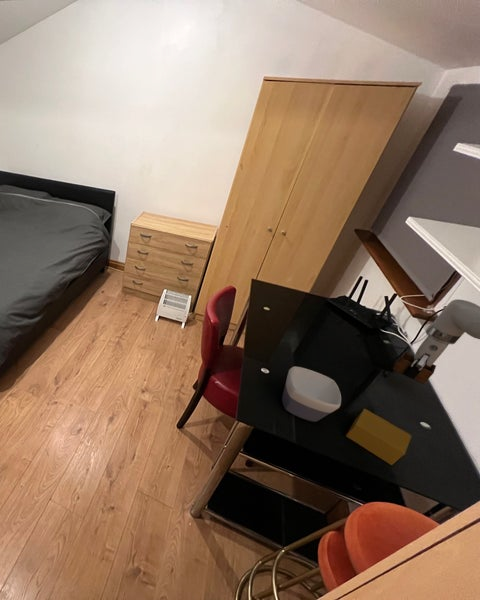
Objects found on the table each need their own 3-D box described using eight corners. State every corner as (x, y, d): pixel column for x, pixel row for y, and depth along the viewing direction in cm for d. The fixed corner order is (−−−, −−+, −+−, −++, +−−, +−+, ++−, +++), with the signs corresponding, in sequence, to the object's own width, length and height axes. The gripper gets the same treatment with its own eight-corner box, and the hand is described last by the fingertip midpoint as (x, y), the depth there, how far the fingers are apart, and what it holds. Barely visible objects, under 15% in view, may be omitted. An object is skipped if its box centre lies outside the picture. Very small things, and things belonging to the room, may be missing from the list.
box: (399, 447, 101) (411, 435, 98) (391, 466, 95) (404, 454, 92) (354, 419, 109) (364, 408, 105) (345, 435, 103) (355, 424, 100)
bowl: (274, 412, 108) (289, 390, 102) (275, 382, 120) (288, 361, 114) (327, 433, 103) (345, 411, 97) (322, 400, 115) (339, 379, 108)
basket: (426, 376, 118) (436, 365, 115) (423, 384, 114) (433, 373, 111) (395, 362, 124) (404, 351, 121) (391, 369, 120) (400, 358, 117)
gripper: (454, 349, 102) (419, 388, 112) (460, 330, 112) (427, 368, 121) (424, 337, 107) (392, 375, 116) (432, 320, 116) (402, 356, 126)
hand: (410, 371), depth 119 cm, fingers closed on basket, 6 cm apart
